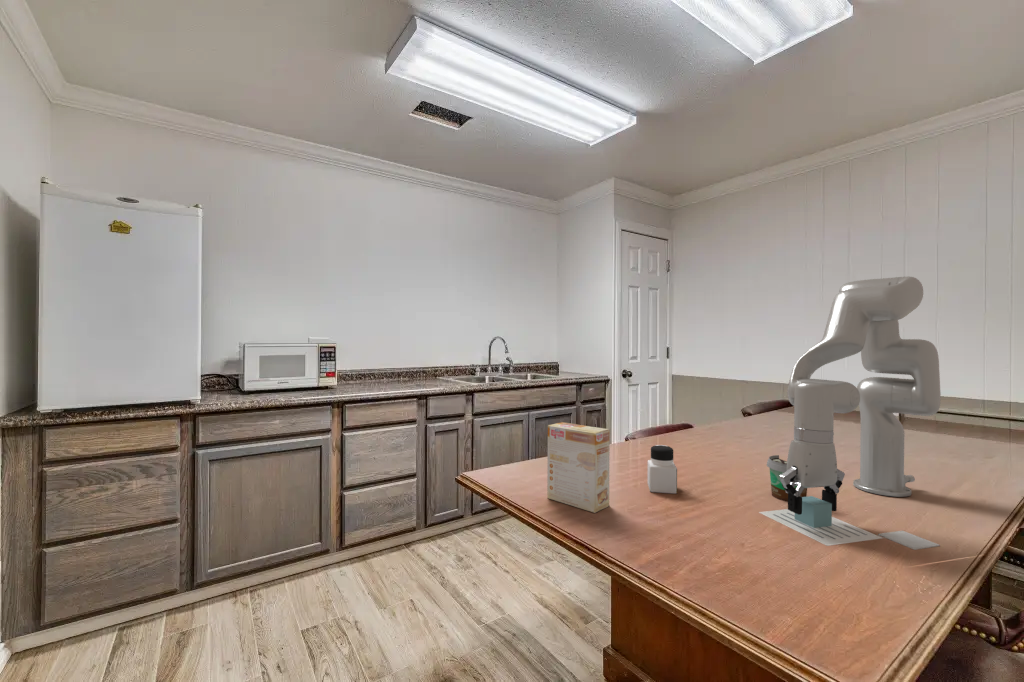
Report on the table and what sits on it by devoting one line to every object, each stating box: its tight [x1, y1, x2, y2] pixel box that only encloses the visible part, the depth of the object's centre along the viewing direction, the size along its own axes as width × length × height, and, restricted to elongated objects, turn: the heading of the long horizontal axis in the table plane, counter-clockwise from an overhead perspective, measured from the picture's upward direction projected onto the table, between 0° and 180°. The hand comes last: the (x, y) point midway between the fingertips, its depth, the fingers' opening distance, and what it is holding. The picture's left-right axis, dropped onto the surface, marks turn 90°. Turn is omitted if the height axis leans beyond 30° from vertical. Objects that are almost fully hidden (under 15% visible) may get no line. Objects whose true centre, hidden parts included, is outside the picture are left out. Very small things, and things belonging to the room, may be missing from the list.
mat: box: [877, 530, 941, 551], centre depth 94 cm, size 7×7×1 cm
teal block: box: [795, 495, 833, 528], centre depth 103 cm, size 5×5×5 cm
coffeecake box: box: [546, 422, 611, 514], centre depth 115 cm, size 15×7×20 cm, turn 47°
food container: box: [766, 454, 808, 503], centre depth 119 cm, size 12×6×10 cm, turn 5°
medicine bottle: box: [647, 444, 678, 495], centre depth 126 cm, size 7×7×12 cm
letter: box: [758, 508, 883, 547], centre depth 102 cm, size 15×18×1 cm
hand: (812, 510), depth 102 cm, fingers open, 9 cm apart
